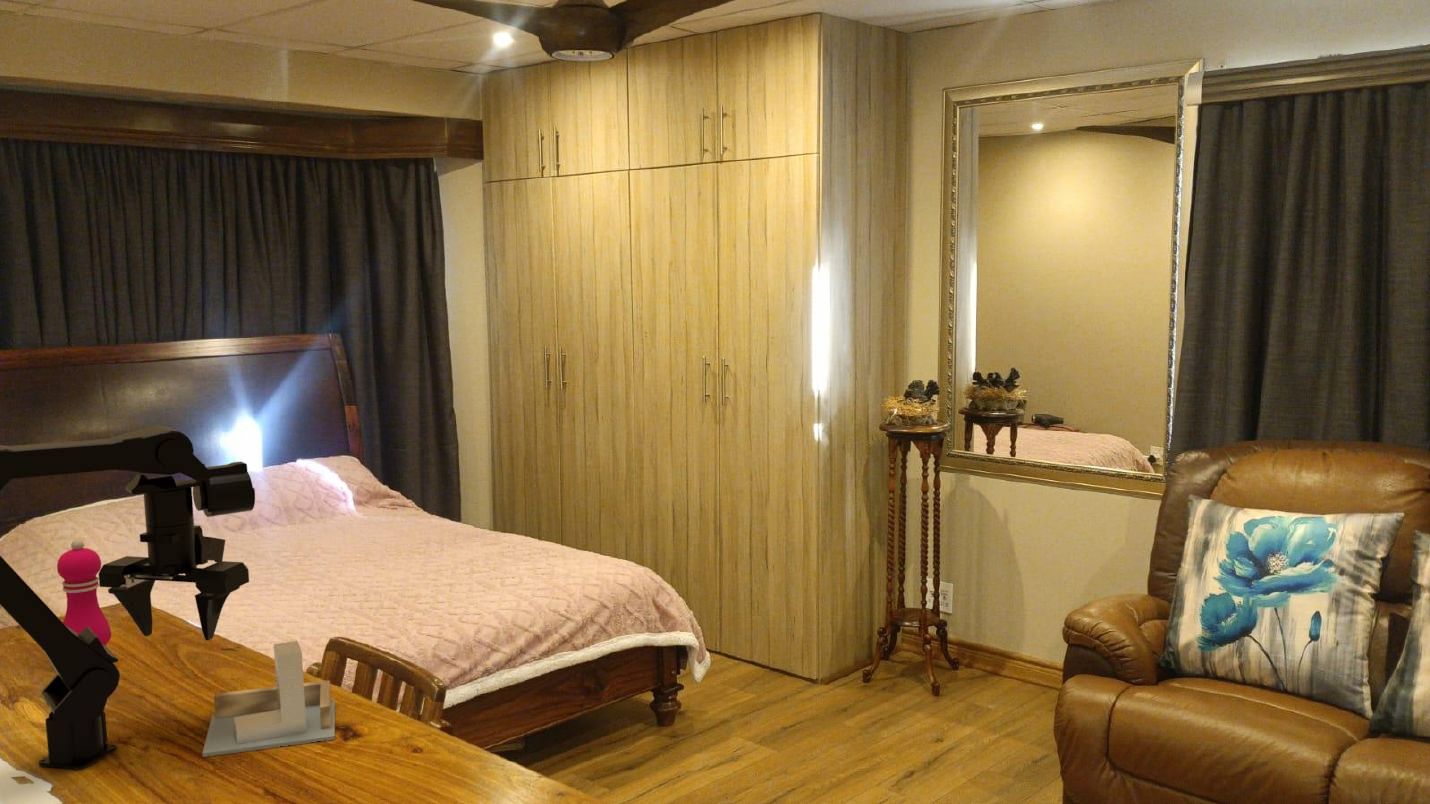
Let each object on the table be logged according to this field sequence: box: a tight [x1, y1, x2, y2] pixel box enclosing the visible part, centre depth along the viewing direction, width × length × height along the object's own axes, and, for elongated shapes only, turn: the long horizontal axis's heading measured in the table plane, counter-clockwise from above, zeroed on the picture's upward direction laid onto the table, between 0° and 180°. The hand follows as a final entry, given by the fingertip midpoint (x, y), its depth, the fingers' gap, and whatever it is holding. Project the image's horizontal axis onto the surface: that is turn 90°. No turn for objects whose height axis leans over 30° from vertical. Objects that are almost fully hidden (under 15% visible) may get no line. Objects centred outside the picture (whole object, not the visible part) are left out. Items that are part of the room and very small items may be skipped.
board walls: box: [213, 680, 332, 729], centre depth 158 cm, size 15×10×4 cm, turn 108°
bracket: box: [234, 640, 306, 744], centre depth 154 cm, size 8×5×11 cm, turn 116°
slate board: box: [201, 699, 336, 758], centre depth 156 cm, size 16×13×1 cm
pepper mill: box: [56, 538, 112, 647], centre depth 181 cm, size 7×7×20 cm
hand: (178, 637), depth 154 cm, fingers open, 9 cm apart
